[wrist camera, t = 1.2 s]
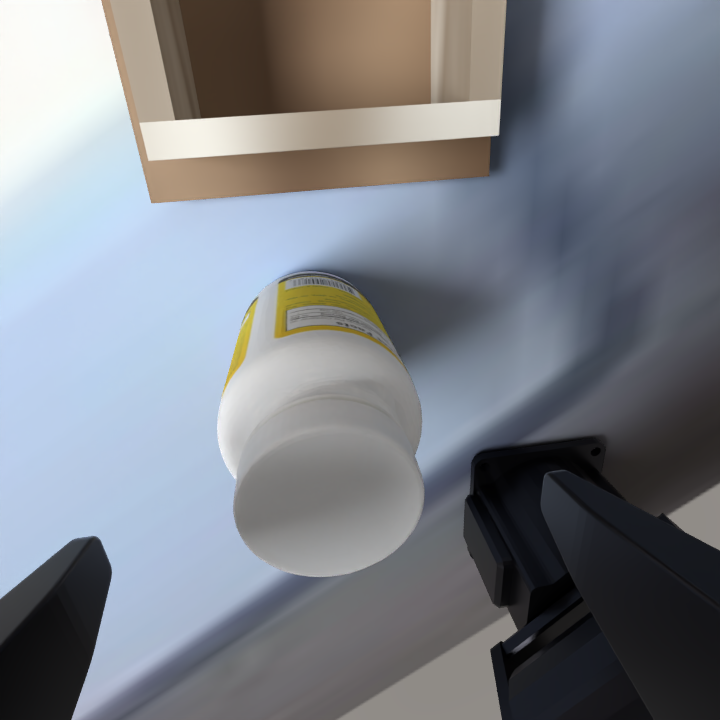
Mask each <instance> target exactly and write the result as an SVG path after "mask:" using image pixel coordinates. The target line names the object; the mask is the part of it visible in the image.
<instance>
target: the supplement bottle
mask: <svg viewBox="0 0 720 720" xmlns="http://www.w3.org/2000/svg"><path fill="white" fill-rule="evenodd" d="M421 430H422V413H421V405H420V401H419V397H418V395H417V392H416V389H415V387H414V384H413V381H412V379H411V377H410V375H409V373H408V371H407V369H406V368H405V366H404V364H403V362H402V360H401V359H400V357H399V355H398V353H397V351H396V349H395V347H394V345H393V343H392V342H391V340H390V338H389V336H388V334H387V332H386V330H385V329H384V327H383V325H382V323H381V321H380V319H379V317H378V316H377V314H376V312H375V310H374V308H373V307H372V305H371V304H370V302H369V301H368V300H367V298H366V297H365V296H364V295H363V294H362V293H361V292H360V291H359V290H358V289H357V288H356V287H355V286H354V285H352V284H351V283H349V282H348V281H346V280H344V279H342V278H340V277H338V276H335V275H332V274H328V273H323V272H315V271H306V272H297V273H293V274H289V275H286V276H283V277H281V278H279V279H277V280H275V281H274V282H272V283H270V284H269V285H267V286H266V287H265V288H264V289H263V290H262V291H261V292H260V293H259V294H258V295H257V296H256V297H255V298H254V300H253V301H252V303H251V304H250V306H249V307H248V310H247V312H246V314H245V316H244V319H243V322H242V325H241V328H240V332H239V336H238V340H237V343H236V347H235V351H234V354H233V358H232V361H231V365H230V369H229V372H228V376H227V379H226V383H225V387H224V390H223V394H222V398H221V403H220V408H219V414H218V424H217V433H218V442H219V447H220V451H221V454H222V457H223V459H224V462H225V464H226V466H227V468H228V470H229V471H230V473H231V474H232V475H233V477H234V478H235V479H236V487H235V494H234V504H233V511H234V518H235V523H236V527H237V529H238V532H239V534H240V536H241V538H242V539H243V541H244V542H245V544H246V545H247V547H248V548H249V549H250V550H251V551H252V552H253V553H254V554H255V555H256V556H258V557H259V558H260V559H261V560H263V561H264V562H266V563H268V564H269V565H271V566H273V567H275V568H278V569H280V570H282V571H285V572H288V573H292V574H296V575H301V576H310V577H329V576H337V575H343V574H348V573H352V572H356V571H359V570H362V569H364V568H366V567H369V566H371V565H373V564H375V563H377V562H379V561H381V560H383V559H384V558H386V557H388V556H389V555H390V554H392V553H393V552H394V551H395V550H397V549H398V548H399V547H400V546H401V545H402V544H403V543H404V542H405V541H406V539H407V538H408V537H409V536H410V534H411V533H412V532H413V530H414V528H415V527H416V525H417V523H418V521H419V519H420V516H421V513H422V510H423V505H424V483H423V479H422V475H421V472H420V469H419V466H418V463H417V461H416V458H415V454H416V451H417V448H418V445H419V442H420V437H421Z"/></svg>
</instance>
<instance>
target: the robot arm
mask: <svg viewBox="0 0 720 720" xmlns="http://www.w3.org/2000/svg"><path fill="white" fill-rule="evenodd" d="M594 448H595V449H594ZM592 449H594V450H592ZM605 451H606V449H605V446H604V444H603V443H601V442H600V441H599V440H598V439H596V438H591V439H584V440H577V441H569V442H562V443H555V444H547V445H540V446H533V447H525V448H518V449H511V450H503V451H496V452H489V453H482V454H478V455H477V456H475V457H474V458H473V460H472V463H471V483H470V495H468V496H467V497H466V499H465V510H464V539H465V541H466V543H467V545H468V547H467V548H468V552H469V554H470V556H471V557H472V558H473V559H474V561H475V564H476V566H477V568H478V570H479V573H480V575H481V577H482V580H483V582H484V584H485V586H486V589H487V591H488V593H489V596H490V598H491V600H492V602H493V604H494V605H496V606H497V607H498V608H504V607H507V608H508V610H509V612H510V614H511V617H512V619H513V621H514V623H515V625H516V627H517V629H518V631H517V632H516V633H515V634H513V635H512V636H511V637H510V638H508V639H507V640H506V641H504V642H502V641H501V642H499V643H498V644H496V645H495V646H494V647H493V648H491V657H492V663H493V669H494V675H495V680H496V687H497V692H498V697H499V704H500V710H501V716H502V720H720V551H719V550H718V549H716V548H714V547H712V546H710V545H708V544H706V543H704V542H702V541H700V540H699V539H696V538H695V537H693V536H691V535H689V534H687V533H685V532H684V531H683V530H682V529H680V528H679V527H678V526H677V525H676V524H675V523H674V522H672V521H671V520H670V519H669V518H668V517H667V516H665V515H664V514H663V513H662V514H661V515H660V516H658V517H655V516H653V515H651V514H649V513H647V512H645V511H643V510H641V509H639V508H637V507H636V506H634V505H632V504H630V503H628V502H627V501H626V500H625V498H624V497H623V496H622V495H621V494H620V493H619V492H618V491H617V490H616V489H615V488H614V487H613V486H612V485H611V484H610V483H609V482H608V481H607V480H606V478H605V477H604V476H603V475H602V474H601V471H602V466H603V461H604V456H605ZM483 463H486V464H485V465H484V466H480V465H481V464H483ZM111 576H112V569H111V565H110V562H109V560H108V557H107V555H106V552H105V550H104V548H103V545H102V543H101V541H100V539H99V538H98V537H96V536H90V537H83V538H77V539H74V540H72V541H70V542H69V543H68V544H67V545H65V546H64V547H63V548H62V549H61V550H59V551H58V552H57V553H56V554H54V555H53V556H52V557H51V558H50V559H48V560H47V561H46V562H45V563H44V564H42V565H41V566H40V567H39V568H37V569H36V570H35V571H34V572H33V573H31V574H30V575H29V576H28V577H27V578H25V579H24V580H23V581H22V582H20V583H19V584H18V585H17V586H16V587H14V588H13V589H12V590H11V591H9V592H8V593H7V594H6V595H5V596H3V597H2V598H1V599H0V720H71V719H72V716H73V713H74V710H75V707H76V704H77V701H78V699H79V696H80V693H81V690H82V687H83V684H84V681H85V678H86V676H87V672H88V669H89V666H90V663H91V660H92V656H93V652H94V649H95V645H96V640H97V636H98V632H99V628H100V624H101V619H102V615H103V611H104V607H105V603H106V598H107V594H108V590H109V586H110V582H111Z"/></svg>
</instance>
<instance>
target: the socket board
mask: <svg viewBox="0 0 720 720" xmlns="http://www.w3.org/2000/svg"><path fill="white" fill-rule="evenodd" d="M101 1H102V5H103V9H104V13H105V17H106V21H107V25H108V29H109V33H110V37H111V41H112V45H113V50H114V54H115V58H116V62H117V66H118V70H119V74H120V78H121V82H122V86H123V90H124V94H125V98H126V102H127V106H128V110H129V114H130V118H131V122H132V126H133V130H134V135H135V139H136V143H137V147H138V151H139V155H140V159H141V163H142V167H143V171H144V175H145V179H146V183H147V187H148V191H149V195H150V199H151V203H161V202H174V201H186V200H198V199H211V198H223V197H236V196H248V195H261V194H273V193H285V192H298V191H310V190H323V189H335V188H348V187H360V186H372V185H385V184H397V183H410V182H422V181H435V180H447V179H459V178H472V177H484V176H489V165H490V145H491V136H499V124H500V107H501V89H502V72H503V54H504V36H505V19H506V1H507V0H101Z"/></svg>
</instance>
